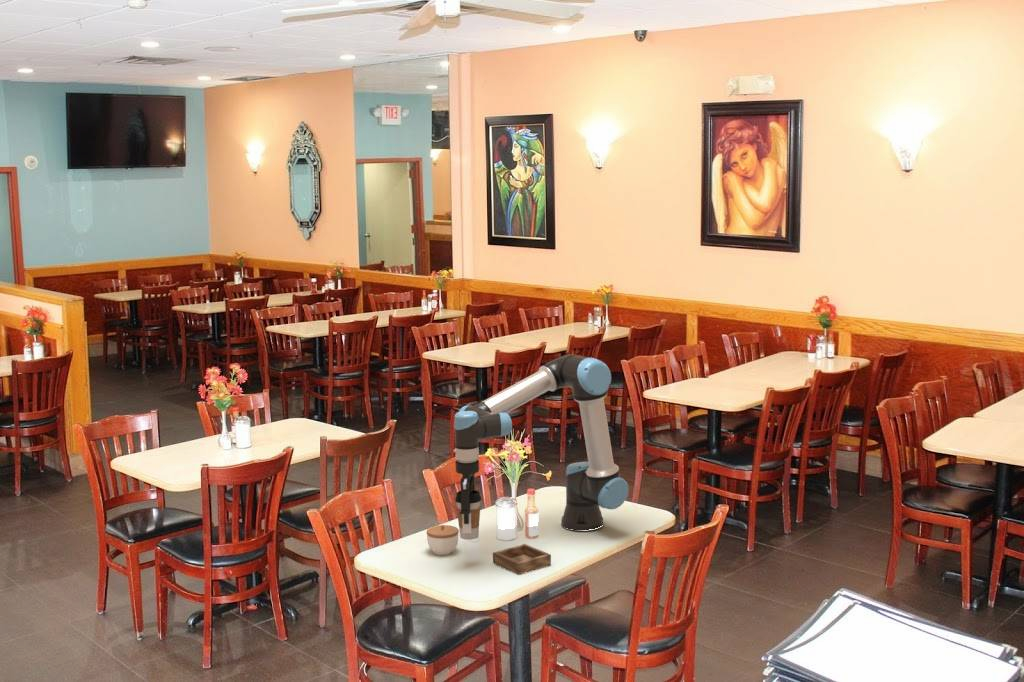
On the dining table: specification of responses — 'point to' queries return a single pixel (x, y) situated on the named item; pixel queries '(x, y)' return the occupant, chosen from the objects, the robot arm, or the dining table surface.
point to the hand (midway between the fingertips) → (469, 528)
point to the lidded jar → (442, 539)
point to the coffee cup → (475, 515)
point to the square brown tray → (521, 559)
